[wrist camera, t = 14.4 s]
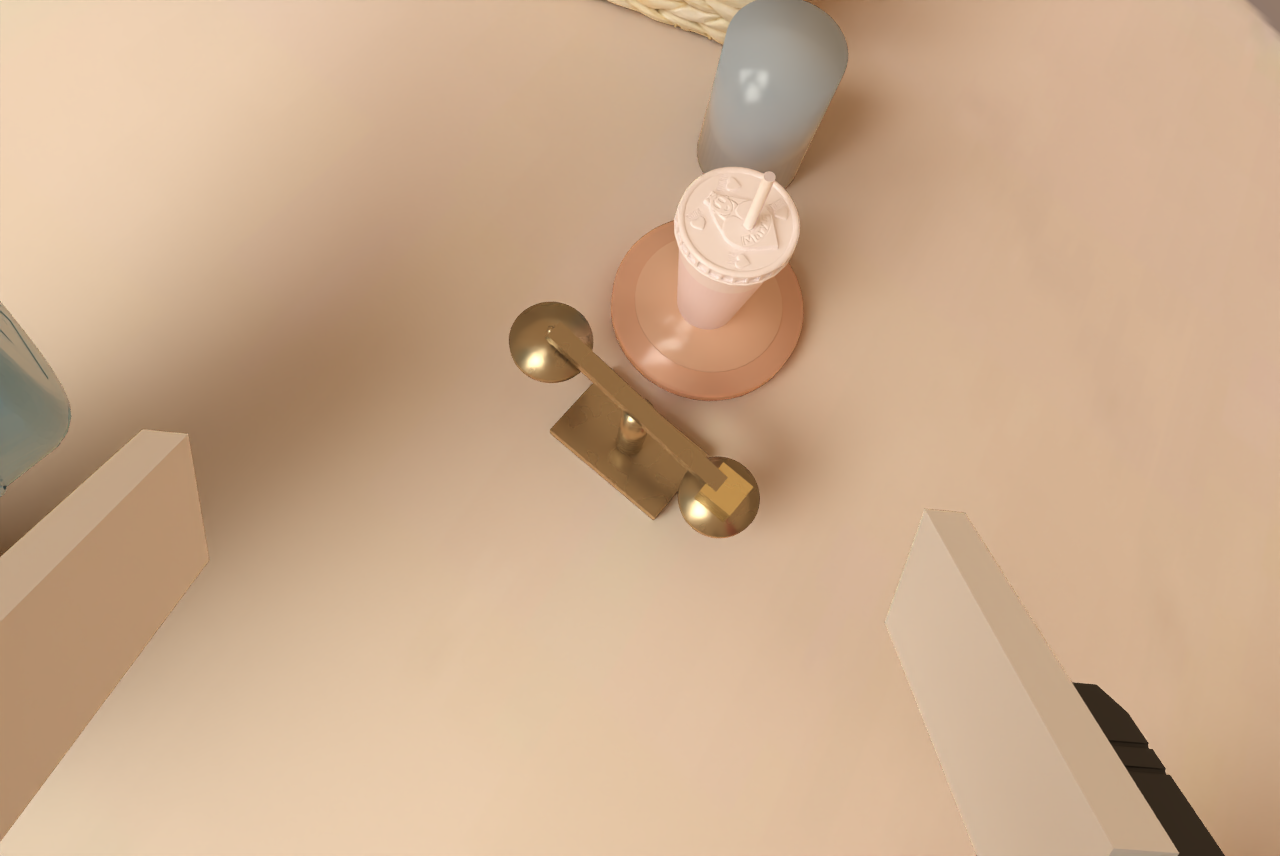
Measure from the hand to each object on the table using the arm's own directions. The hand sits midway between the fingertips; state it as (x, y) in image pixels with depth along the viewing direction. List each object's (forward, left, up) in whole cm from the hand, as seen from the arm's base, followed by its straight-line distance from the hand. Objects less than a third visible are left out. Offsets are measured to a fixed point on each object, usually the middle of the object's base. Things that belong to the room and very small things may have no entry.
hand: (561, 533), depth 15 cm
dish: (-6, +20, -32) cm, 38 cm away
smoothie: (-6, +20, -30) cm, 37 cm away
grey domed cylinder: (-11, +31, -32) cm, 46 cm away
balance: (-4, +10, -32) cm, 33 cm away
